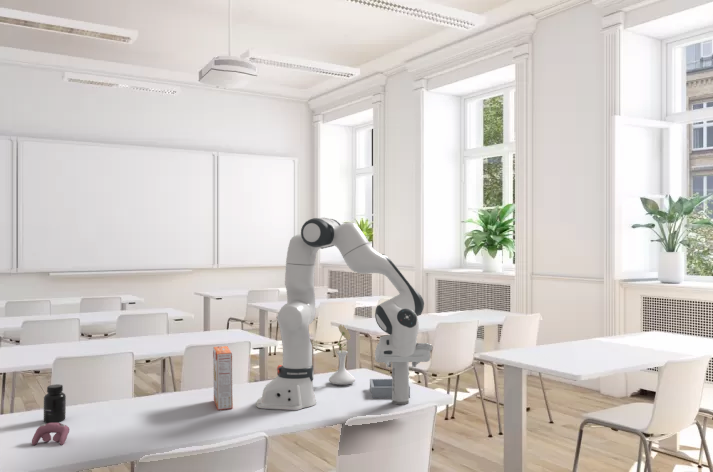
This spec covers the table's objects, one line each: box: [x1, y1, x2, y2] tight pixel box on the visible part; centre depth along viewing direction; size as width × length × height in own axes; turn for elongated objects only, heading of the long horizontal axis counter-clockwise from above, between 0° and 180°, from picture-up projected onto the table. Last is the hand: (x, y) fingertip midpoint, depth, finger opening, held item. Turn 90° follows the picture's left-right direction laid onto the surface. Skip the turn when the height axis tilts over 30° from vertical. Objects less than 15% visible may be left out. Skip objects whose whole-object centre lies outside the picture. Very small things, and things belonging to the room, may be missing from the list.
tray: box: [369, 378, 411, 399], centre depth 250 cm, size 15×14×4 cm
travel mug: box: [391, 362, 410, 406], centre depth 236 cm, size 6×7×20 cm
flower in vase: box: [328, 324, 356, 386], centre depth 266 cm, size 13×11×25 cm
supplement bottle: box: [43, 384, 67, 424], centre depth 213 cm, size 7×7×12 cm
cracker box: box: [212, 345, 234, 411], centre depth 233 cm, size 14×6×21 cm, turn 18°
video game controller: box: [31, 422, 70, 446], centre depth 191 cm, size 10×5×7 cm, turn 92°
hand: (401, 365), depth 232 cm, fingers open, 8 cm apart
